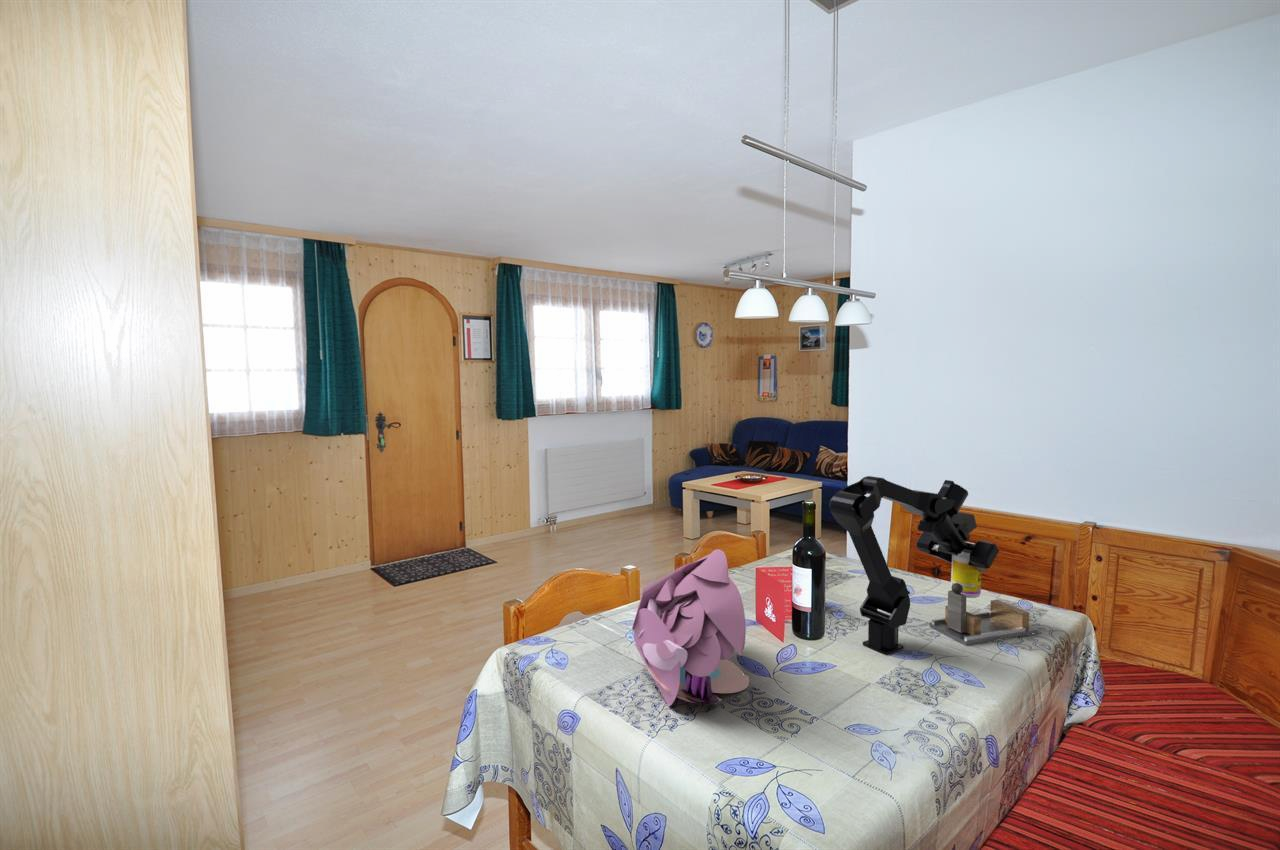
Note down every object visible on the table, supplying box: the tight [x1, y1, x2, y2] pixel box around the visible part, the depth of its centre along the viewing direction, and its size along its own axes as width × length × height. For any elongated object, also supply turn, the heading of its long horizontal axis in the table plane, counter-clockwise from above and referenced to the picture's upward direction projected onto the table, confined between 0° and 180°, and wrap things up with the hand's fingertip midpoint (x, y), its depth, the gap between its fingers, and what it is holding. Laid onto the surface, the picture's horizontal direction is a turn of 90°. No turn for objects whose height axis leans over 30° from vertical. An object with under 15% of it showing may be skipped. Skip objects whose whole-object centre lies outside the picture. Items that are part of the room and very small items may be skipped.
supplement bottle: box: [950, 541, 982, 599], centre depth 148 cm, size 7×7×13 cm
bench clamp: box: [929, 599, 1038, 646], centre depth 142 cm, size 21×11×5 cm, turn 106°
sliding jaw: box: [944, 583, 981, 635], centre depth 140 cm, size 4×9×11 cm, turn 16°
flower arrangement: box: [631, 548, 750, 707], centre depth 120 cm, size 35×24×28 cm
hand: (969, 567), depth 148 cm, fingers closed on supplement bottle, 7 cm apart
